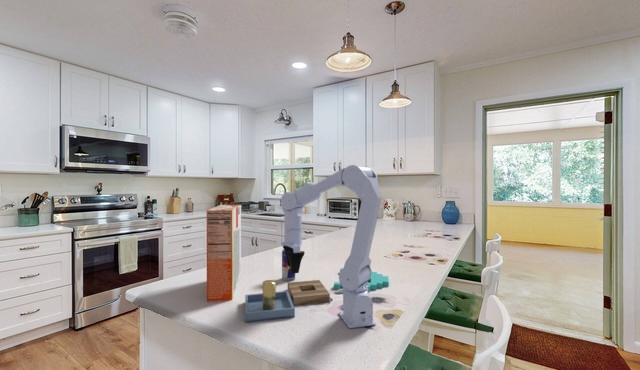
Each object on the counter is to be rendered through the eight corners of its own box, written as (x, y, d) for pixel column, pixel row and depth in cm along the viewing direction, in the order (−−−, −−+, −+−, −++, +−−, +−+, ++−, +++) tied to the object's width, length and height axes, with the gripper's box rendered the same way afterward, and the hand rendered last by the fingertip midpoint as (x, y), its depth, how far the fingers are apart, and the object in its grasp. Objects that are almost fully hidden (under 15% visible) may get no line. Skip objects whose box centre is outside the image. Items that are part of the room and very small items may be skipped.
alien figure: (333, 290, 107) (389, 294, 103) (333, 284, 107) (389, 288, 103) (340, 273, 127) (387, 276, 123) (340, 268, 127) (387, 271, 123)
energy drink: (283, 281, 114) (283, 251, 114) (281, 277, 119) (281, 248, 119) (296, 280, 116) (296, 250, 116) (293, 276, 121) (293, 247, 121)
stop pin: (276, 309, 89) (276, 283, 88) (263, 311, 87) (263, 285, 87) (274, 304, 92) (274, 279, 92) (261, 306, 91) (261, 280, 91)
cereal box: (220, 278, 118) (220, 204, 118) (241, 277, 120) (240, 204, 119) (206, 301, 96) (206, 210, 95) (232, 300, 97) (231, 210, 96)
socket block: (329, 301, 96) (329, 293, 96) (293, 305, 93) (293, 297, 93) (319, 286, 109) (319, 279, 109) (287, 289, 106) (287, 282, 106)
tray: (294, 316, 85) (294, 308, 85) (245, 322, 81) (245, 313, 81) (287, 298, 98) (287, 290, 98) (245, 302, 95) (245, 294, 95)
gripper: (278, 225, 102) (278, 264, 102) (284, 232, 88) (284, 277, 88) (298, 225, 104) (298, 262, 104) (306, 231, 90) (306, 275, 90)
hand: (293, 269), depth 96 cm, fingers open, 7 cm apart
